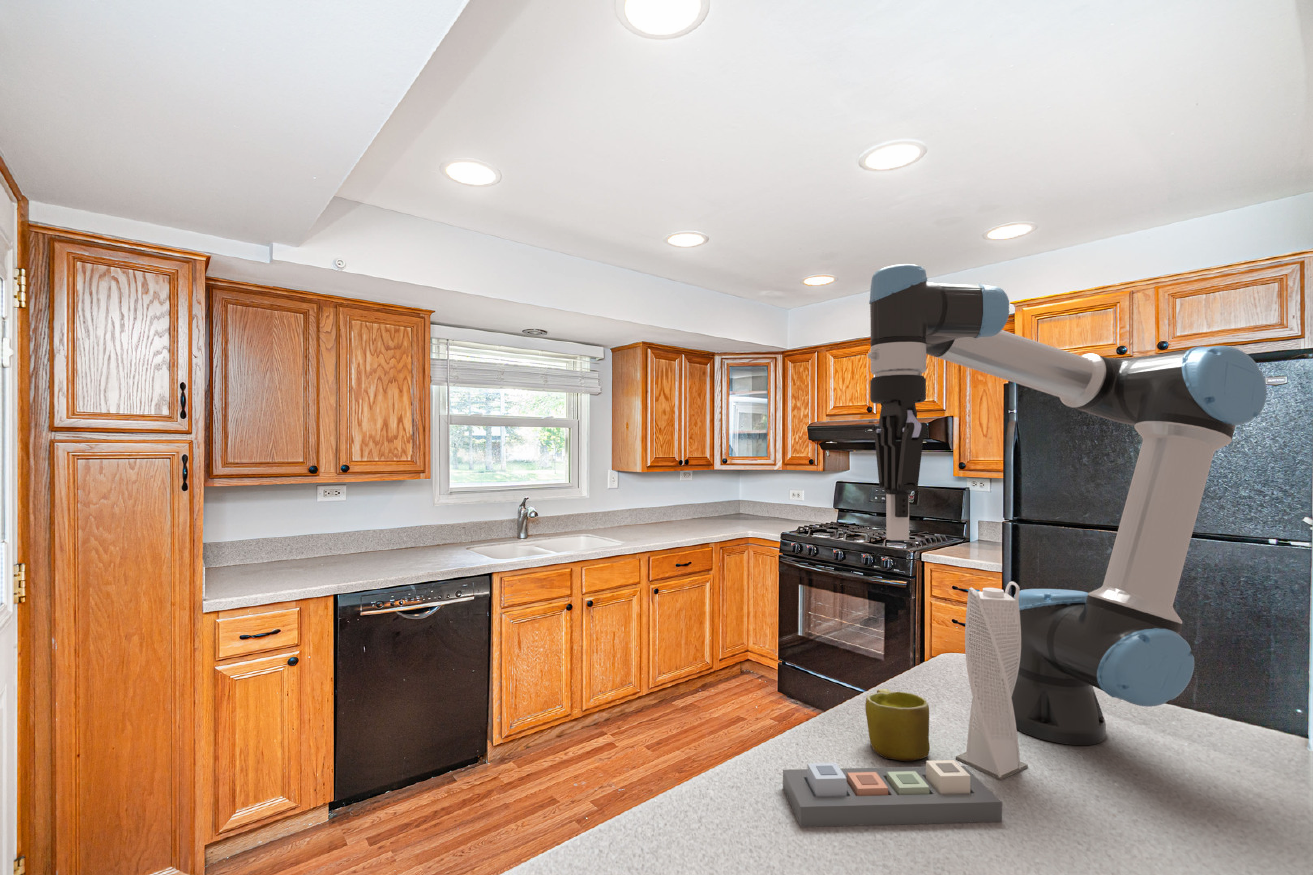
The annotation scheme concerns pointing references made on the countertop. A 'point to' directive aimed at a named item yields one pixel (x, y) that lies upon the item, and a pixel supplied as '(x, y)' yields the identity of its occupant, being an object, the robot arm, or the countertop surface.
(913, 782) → the key sage
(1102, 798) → the countertop surface
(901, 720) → the mug
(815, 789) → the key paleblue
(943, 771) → the key ivory
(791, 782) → the keyguard frame
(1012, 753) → the skyscraper
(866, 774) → the key terracotta
